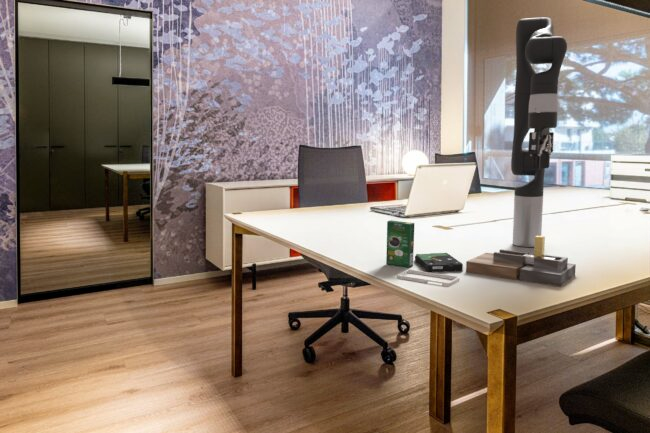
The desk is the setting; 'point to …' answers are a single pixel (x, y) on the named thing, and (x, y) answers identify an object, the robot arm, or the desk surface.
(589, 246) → the desk surface
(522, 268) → the door and jamb
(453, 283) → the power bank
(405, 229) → the coffee box
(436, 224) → the desk surface
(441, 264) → the disk drive
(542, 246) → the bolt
